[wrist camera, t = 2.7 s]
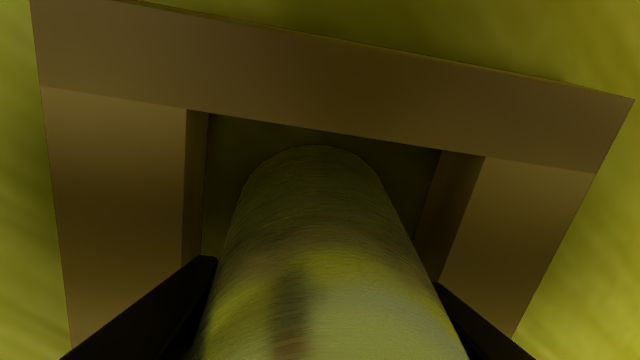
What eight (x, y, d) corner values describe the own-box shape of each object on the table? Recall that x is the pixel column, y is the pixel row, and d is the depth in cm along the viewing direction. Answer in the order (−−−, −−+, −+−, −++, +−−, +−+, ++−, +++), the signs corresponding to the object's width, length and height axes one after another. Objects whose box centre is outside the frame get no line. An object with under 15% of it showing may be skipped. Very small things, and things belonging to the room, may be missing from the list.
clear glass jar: (369, 283, 12) (515, 838, 4) (231, 268, 12) (72, 874, 3) (405, 157, 10) (803, 689, 2) (245, 132, 10) (-16, 712, 2)
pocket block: (394, 476, 17) (408, 544, 15) (120, 463, 16) (91, 537, 13) (567, 82, 10) (643, 101, 8) (91, -9, 8) (19, -16, 6)
